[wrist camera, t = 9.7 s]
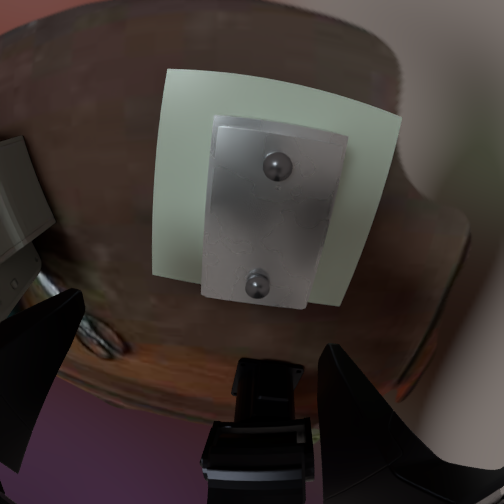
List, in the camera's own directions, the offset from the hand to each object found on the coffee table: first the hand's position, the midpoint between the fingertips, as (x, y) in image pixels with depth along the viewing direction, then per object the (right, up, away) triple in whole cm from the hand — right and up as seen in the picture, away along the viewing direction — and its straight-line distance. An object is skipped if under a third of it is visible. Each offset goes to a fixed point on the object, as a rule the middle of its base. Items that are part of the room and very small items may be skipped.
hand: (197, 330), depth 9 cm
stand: (+3, +7, +9) cm, 12 cm away
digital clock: (-20, +8, +10) cm, 24 cm away
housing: (+3, +5, +5) cm, 8 cm away
